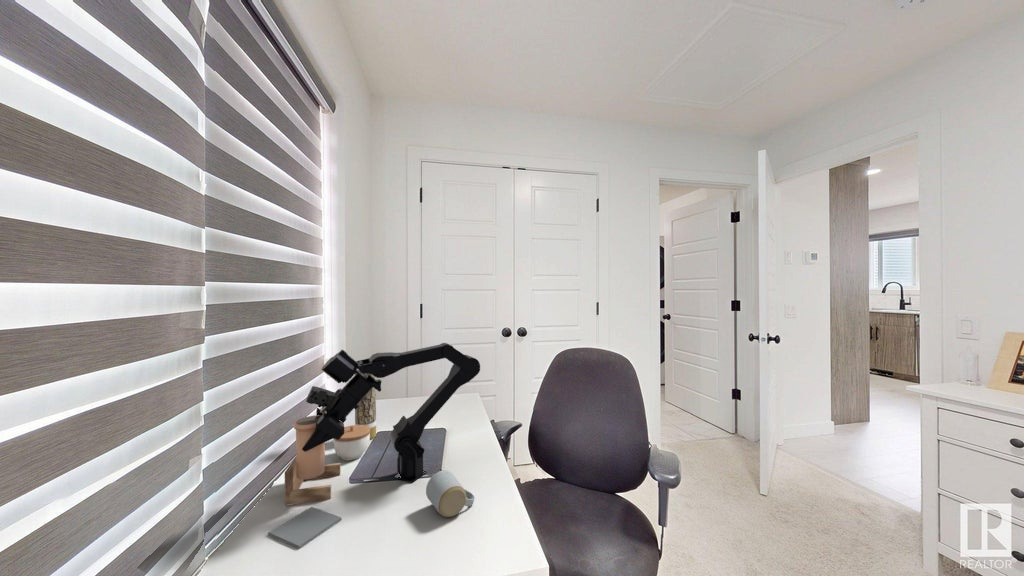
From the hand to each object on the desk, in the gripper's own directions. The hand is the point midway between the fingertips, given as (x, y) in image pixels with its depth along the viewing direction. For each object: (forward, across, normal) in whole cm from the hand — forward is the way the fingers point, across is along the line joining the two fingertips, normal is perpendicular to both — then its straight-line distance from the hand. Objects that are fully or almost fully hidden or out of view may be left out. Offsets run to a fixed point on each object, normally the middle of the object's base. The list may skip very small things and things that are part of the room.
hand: (304, 445), depth 90 cm
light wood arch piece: (+8, -5, +11) cm, 15 cm away
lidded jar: (+1, -21, +18) cm, 28 cm away
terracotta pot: (+4, 0, +6) cm, 7 cm away
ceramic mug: (-12, +20, +32) cm, 39 cm away
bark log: (-2, -34, +22) cm, 41 cm away
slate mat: (+9, +12, +10) cm, 18 cm away
